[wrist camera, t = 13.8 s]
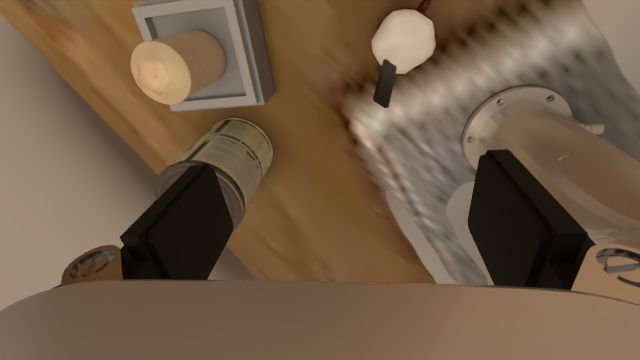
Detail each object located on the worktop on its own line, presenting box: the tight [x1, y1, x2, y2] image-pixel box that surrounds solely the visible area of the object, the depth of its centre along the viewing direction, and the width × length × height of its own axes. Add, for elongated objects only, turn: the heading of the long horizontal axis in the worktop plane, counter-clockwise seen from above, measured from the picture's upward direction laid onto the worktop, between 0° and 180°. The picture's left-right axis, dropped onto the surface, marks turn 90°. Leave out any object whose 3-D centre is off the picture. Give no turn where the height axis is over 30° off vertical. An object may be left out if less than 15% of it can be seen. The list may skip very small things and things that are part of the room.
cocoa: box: [371, 0, 436, 108], centre depth 30 cm, size 10×6×12 cm, turn 128°
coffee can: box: [154, 118, 273, 231], centre depth 39 cm, size 10×10×14 cm
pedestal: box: [132, 0, 275, 112], centre depth 35 cm, size 12×12×6 cm
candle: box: [131, 30, 226, 105], centre depth 29 cm, size 6×6×10 cm
